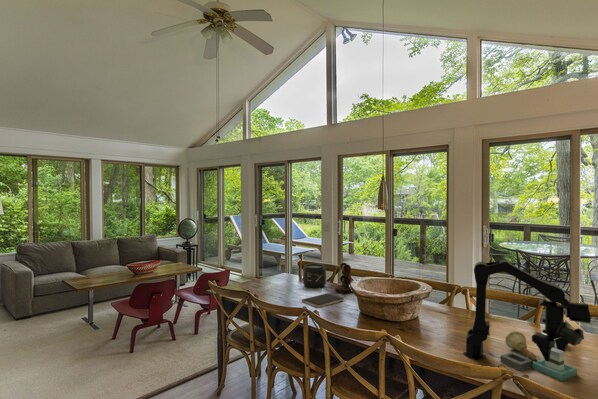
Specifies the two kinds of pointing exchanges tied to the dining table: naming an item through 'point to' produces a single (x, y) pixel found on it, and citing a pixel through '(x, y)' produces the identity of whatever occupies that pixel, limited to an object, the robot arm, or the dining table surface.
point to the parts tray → (562, 376)
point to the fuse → (556, 360)
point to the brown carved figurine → (344, 278)
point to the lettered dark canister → (314, 276)
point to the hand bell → (519, 344)
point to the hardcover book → (322, 300)
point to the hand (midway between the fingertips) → (554, 358)
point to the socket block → (516, 361)
